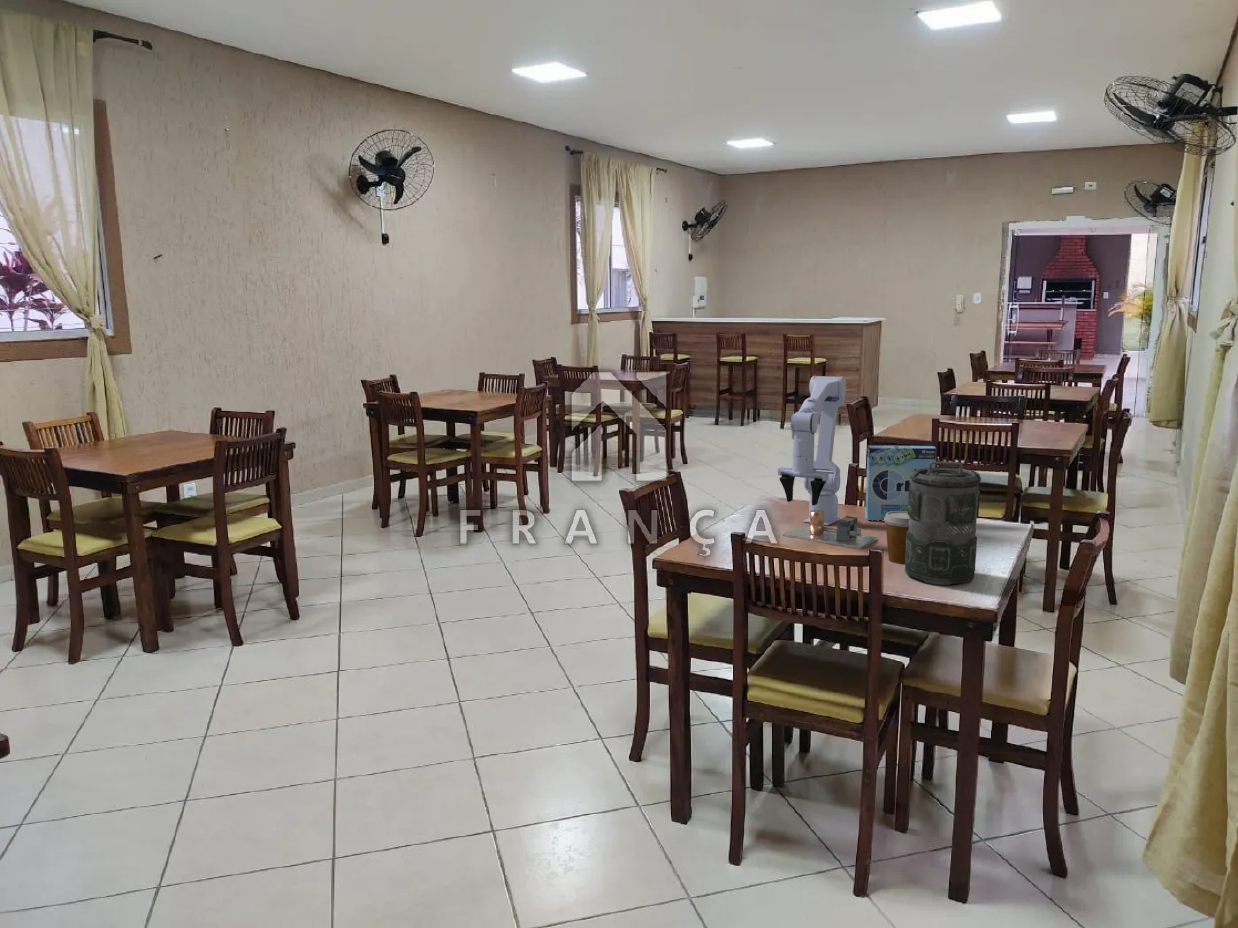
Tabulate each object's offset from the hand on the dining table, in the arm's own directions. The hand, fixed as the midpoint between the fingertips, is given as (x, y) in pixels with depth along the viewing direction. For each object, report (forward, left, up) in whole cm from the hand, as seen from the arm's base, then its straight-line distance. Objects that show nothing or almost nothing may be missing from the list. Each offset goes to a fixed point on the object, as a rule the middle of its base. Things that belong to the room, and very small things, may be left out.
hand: (802, 502), depth 240 cm
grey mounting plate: (-5, +7, -10) cm, 13 cm away
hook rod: (-5, +8, -9) cm, 13 cm away
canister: (+13, +43, -10) cm, 46 cm away
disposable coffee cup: (+5, +31, -10) cm, 33 cm away
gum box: (-36, +15, -10) cm, 40 cm away
